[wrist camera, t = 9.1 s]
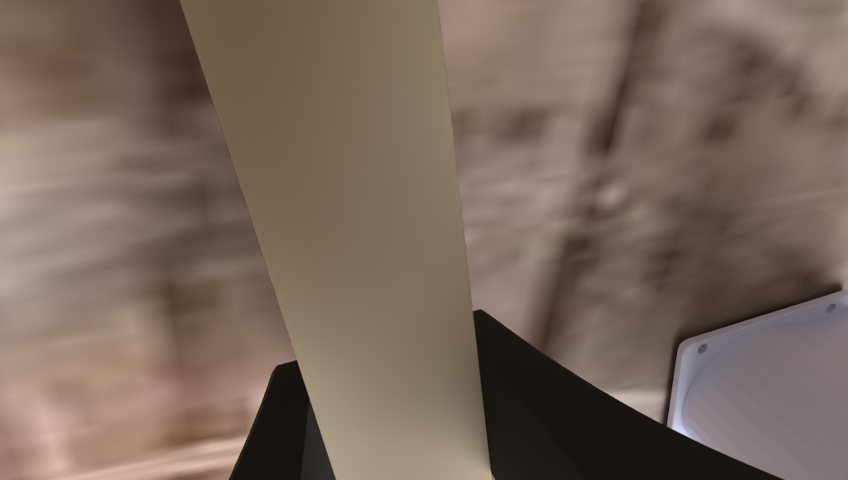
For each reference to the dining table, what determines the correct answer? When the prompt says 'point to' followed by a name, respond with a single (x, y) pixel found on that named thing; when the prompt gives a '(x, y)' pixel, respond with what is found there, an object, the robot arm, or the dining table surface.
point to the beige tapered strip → (356, 220)
